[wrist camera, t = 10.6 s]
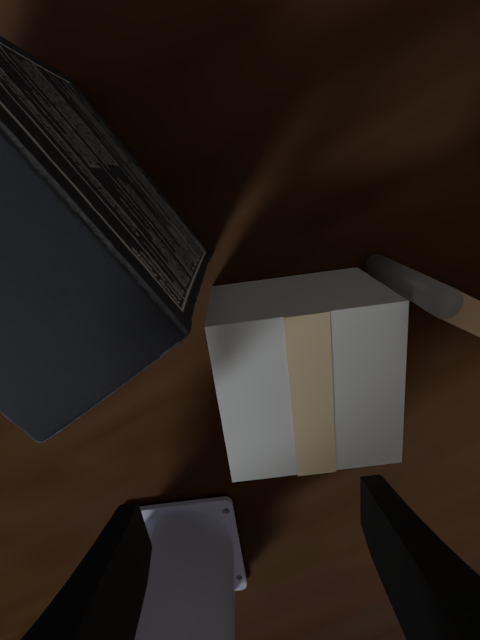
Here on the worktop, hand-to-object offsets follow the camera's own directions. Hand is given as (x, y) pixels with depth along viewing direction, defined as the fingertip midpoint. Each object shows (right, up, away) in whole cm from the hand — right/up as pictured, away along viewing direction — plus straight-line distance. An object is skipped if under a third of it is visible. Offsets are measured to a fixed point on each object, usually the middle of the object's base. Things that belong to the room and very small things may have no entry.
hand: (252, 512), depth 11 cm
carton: (+3, +5, +9) cm, 11 cm away
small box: (-7, +12, +7) cm, 15 cm away
